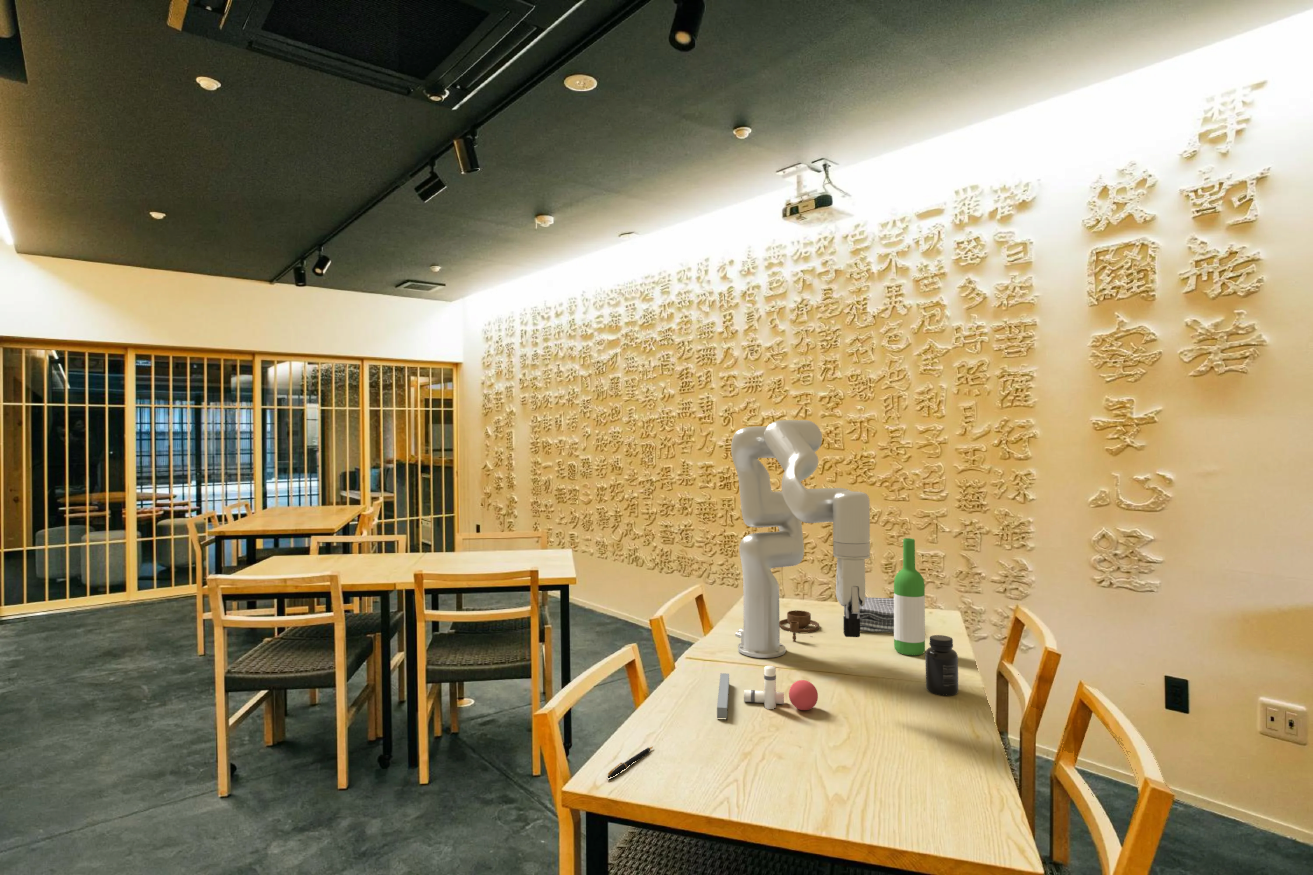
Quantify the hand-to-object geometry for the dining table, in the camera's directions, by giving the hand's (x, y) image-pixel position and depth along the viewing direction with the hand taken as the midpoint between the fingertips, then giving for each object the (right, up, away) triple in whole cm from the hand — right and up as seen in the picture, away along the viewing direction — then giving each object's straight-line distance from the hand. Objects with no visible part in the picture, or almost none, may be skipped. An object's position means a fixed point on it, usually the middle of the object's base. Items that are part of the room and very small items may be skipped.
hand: (851, 635), depth 146 cm
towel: (+24, -15, +60) cm, 67 cm away
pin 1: (-14, -14, +2) cm, 20 cm away
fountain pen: (-46, -16, -25) cm, 55 cm away
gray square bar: (-27, -15, +4) cm, 31 cm away
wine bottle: (+26, -15, +36) cm, 47 cm away
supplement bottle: (+23, -15, +9) cm, 29 cm away
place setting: (-2, -16, +57) cm, 59 cm away
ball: (-11, -12, -1) cm, 16 cm away
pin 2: (-17, -15, 0) cm, 23 cm away
